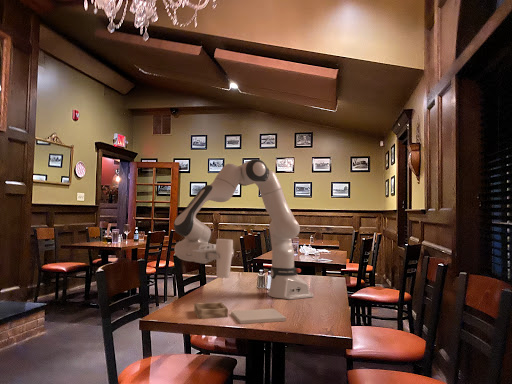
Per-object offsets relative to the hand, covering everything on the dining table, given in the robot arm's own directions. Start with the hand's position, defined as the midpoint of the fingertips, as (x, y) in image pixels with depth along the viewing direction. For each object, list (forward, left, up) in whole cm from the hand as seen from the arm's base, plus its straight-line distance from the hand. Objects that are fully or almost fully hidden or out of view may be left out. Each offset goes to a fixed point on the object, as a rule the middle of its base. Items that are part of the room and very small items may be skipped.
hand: (225, 255), depth 149 cm
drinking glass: (+1, -1, -9) cm, 9 cm away
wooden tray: (+5, -3, -23) cm, 24 cm away
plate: (-12, +6, -23) cm, 27 cm away
